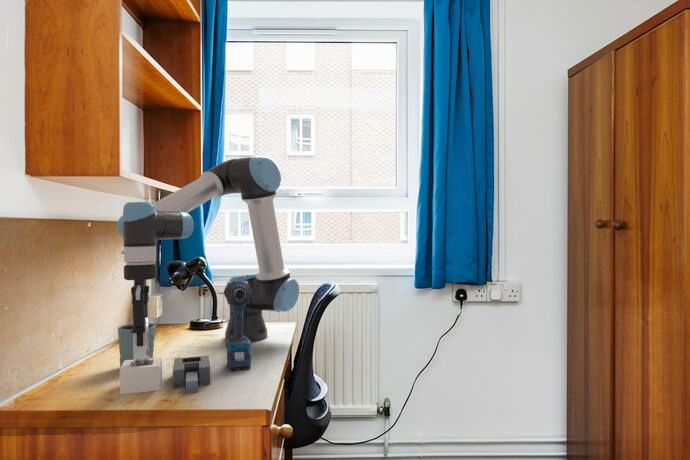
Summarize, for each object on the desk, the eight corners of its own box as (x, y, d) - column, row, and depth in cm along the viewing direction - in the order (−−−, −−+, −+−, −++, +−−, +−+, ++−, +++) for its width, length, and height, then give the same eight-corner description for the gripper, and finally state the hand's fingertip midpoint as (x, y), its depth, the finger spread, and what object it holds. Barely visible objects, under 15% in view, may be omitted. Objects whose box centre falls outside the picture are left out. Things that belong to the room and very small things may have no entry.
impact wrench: (226, 380, 127) (224, 284, 127) (224, 358, 149) (222, 276, 149) (257, 377, 129) (255, 283, 129) (250, 356, 151) (248, 275, 151)
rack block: (125, 383, 126) (124, 360, 126) (162, 379, 129) (161, 357, 129) (120, 394, 117) (119, 369, 117) (160, 390, 120) (159, 365, 120)
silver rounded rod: (134, 376, 124) (133, 317, 124) (149, 375, 125) (149, 316, 125) (133, 380, 121) (132, 320, 121) (148, 379, 122) (147, 319, 122)
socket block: (174, 374, 133) (174, 358, 133) (209, 371, 136) (208, 355, 136) (173, 388, 121) (172, 370, 121) (210, 384, 124) (210, 366, 124)
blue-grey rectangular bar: (186, 383, 125) (186, 372, 125) (197, 382, 126) (197, 371, 126) (185, 393, 117) (185, 381, 117) (198, 392, 118) (197, 380, 118)
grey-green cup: (123, 364, 145) (122, 323, 145) (158, 361, 147) (158, 321, 147) (114, 373, 135) (113, 330, 135) (153, 370, 137) (152, 328, 137)
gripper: (127, 262, 130) (129, 350, 130) (119, 266, 114) (120, 366, 114) (158, 261, 132) (159, 347, 132) (153, 264, 116) (154, 363, 116)
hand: (141, 356), depth 123 cm, fingers closed on silver rounded rod, 4 cm apart
